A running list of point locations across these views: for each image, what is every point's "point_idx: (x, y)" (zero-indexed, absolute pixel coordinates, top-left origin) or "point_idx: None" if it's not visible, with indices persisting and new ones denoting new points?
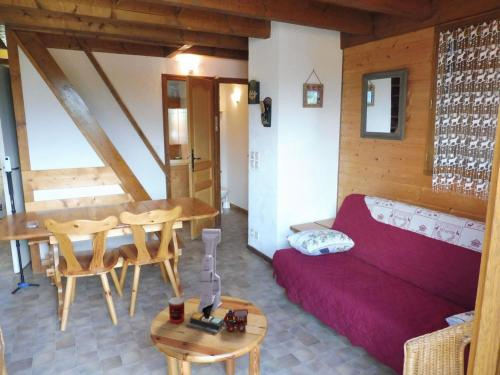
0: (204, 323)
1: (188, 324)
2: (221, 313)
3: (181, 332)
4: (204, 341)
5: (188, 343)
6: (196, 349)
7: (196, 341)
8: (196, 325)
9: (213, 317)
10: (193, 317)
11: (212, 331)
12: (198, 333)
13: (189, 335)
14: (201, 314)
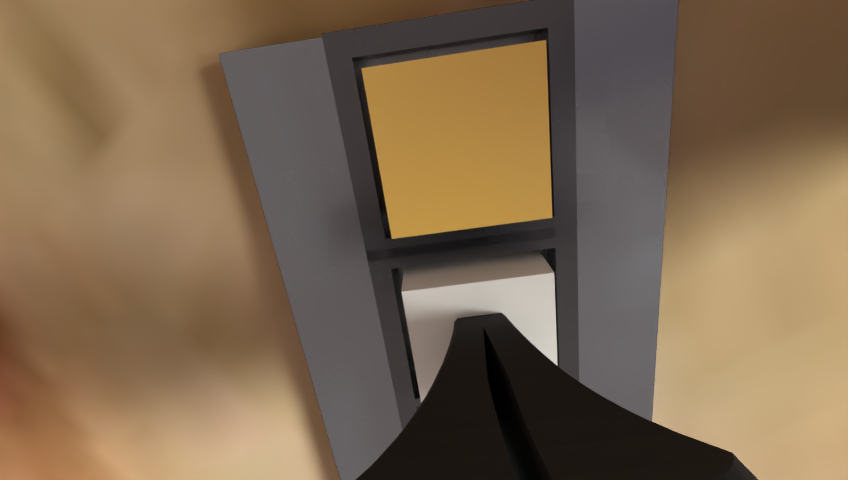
0: (385, 337)
1: (238, 100)
2: (831, 282)
3: (70, 116)
4: (170, 460)
5: (4, 357)
6: (16, 475)
7: (103, 401)
8: (305, 234)
9: (638, 305)
10: (370, 104)
11: (339, 464)
12: (232, 326)
13: (115, 264)
14: (540, 190)
